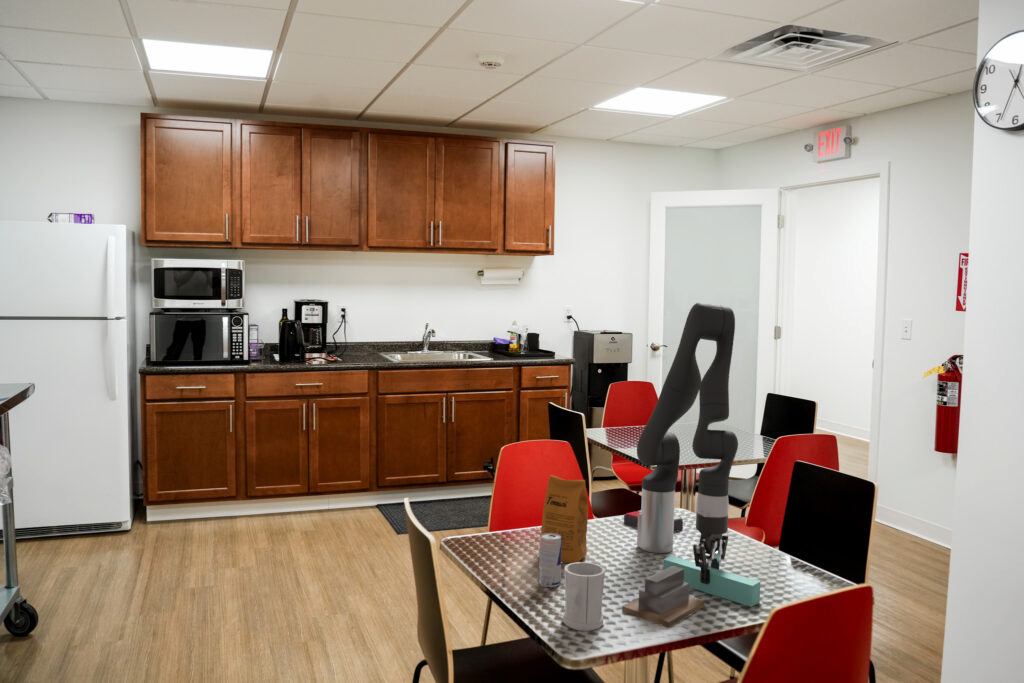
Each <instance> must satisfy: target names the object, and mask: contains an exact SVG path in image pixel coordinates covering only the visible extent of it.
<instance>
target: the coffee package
mask: <svg viewBox="0 0 1024 683" xmlns="http://www.w3.org/2000/svg"><path fill="white" fill-rule="evenodd" d="M586 485H587V482H586V479H563V478H560V477H558V476H555V475H553V474H551V475H550V476H549V478H548V483H547V486H546V494H545V496H544V497H545V498H544V502H543V503H544V504H543V507H542V508H543V509H542V519H541V529H540V530H541V531H540V536H541V535H542V534H546V533H554V534H558V535H560V536H561V539H562V550H561V562H564V563H563V564H570V563H575V562H581V560H582V559H583V558H585V557H587V556H586V555H587V551H588V550H587V549H588V548H587V547H588V546H587V544H588V543H587V532H588V523H589V522H588V521H589V518H588V517H589V514H588V513H589V502H588V495H587V491H586V490H587V489H586Z"/></svg>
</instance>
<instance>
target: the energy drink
mask: <svg viewBox="0 0 1024 683" xmlns="http://www.w3.org/2000/svg"><path fill="white" fill-rule="evenodd" d="M561 550H562V539H561V536H560V535H558V534H554V533H546V534H542V535H541V534H540V538H539V559H538V560H539V562H538V563H539V565H538V566H539V567H538V583H539V585H540V586H541V587H543V586H544V587H543V588H547V587H550V588H549V589H553V588H552V587H554V588H558V587H559V586H560V585H561V583H562V582H561V581H562V577H561V576H562V575H561V574H562V572H561V571H562V563H561ZM557 586H558V587H557Z"/></svg>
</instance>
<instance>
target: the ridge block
mask: <svg viewBox="0 0 1024 683" xmlns="http://www.w3.org/2000/svg"><path fill="white" fill-rule="evenodd" d="M705 604H706V602H705V601H704V600H701V599H698V598H696V597H692V596H690V587H689V583H687V582H684V569H683V568H679V567H676V566H671V567H669V568H667V569H665V570H663V569H662V570H661V571H660V570H659V571H658V572H657V573H654V574H652V575H650V576H648V577H645V579H644V587H642V588H640V589H638V598H636V599H633V600H632V601H630V602H627V603H626V604H624V605H622V606H621V607H622V608H621V609H622V610H621V611H622V612H623V613H626V614H629V615H632V616H634V617H638V618H641V619H643V620H646V621H648V622H649V621H650V622H653V623H654V624H655V623H656V624H658V625H660V626H664V627H667V628H670V627H672V626H673V625H675V624H677V623H678V622H681V621H682V620H684V619H686V618H687V617H689V616H691V615H693V614H695V613H696V612H698V611H699V610H701V609H703V608H704V607H705ZM692 613H693V614H692ZM690 614H691V615H690ZM680 620H681V621H680Z"/></svg>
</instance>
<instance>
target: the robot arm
mask: <svg viewBox="0 0 1024 683" xmlns="http://www.w3.org/2000/svg"><path fill="white" fill-rule="evenodd" d="M735 332H736V318H735V314H734V311H733V309H732V308H731V307H730V306H726V305H721V304H720V305H719V304H715V303H714V304H713V303H709V302H708V303H707V302H696V303H694V304H693V305H692V306H691V308H690V309H689V312H688V314H687V317H686V320H685V324H684V327H683V329H682V334H681V337H680V340H679V344H678V348H677V351H676V353H675V356H674V357H673V361H672V363H671V366H670V369H669V371H668V372H667V376H666V378H665V380H664V382H663V386H662V389H661V391H660V393H659V394H660V395H659V396H658V400H657V401H656V404H655V406H654V409H653V410H652V413H651V415H650V417H649V419H648V421H647V423H646V425H645V426H644V428H643V430H642V432H641V434H640V436H639V439H638V441H637V445H636V446H637V447H636V456H637V459H638V461H639V462H640V463H641V465H645V466H648V467H649V466H651V467H652V466H656V467H655V468H654V469H653V470H652V472H650V473H649V474H647V475H645V476H644V477H643V478H642V481H641V508H640V510H641V513H639V514H638V528H637V530H636V531H637V536H636V537H637V538H636V547H638V548H640V549H641V550H643V551H646V552H647V553H648V552H649V553H652V554H667V553H671V552H672V551H673V550H674V548H673V547H674V533H675V532H674V516H675V506H676V505H675V502H676V501H675V499H676V497H675V496H676V484H677V483H678V482H677V481H678V478H679V468H680V456H681V447H680V445H681V444H680V442H679V438H678V437H677V435H676V434H675V433H673V432H672V431H669V430H670V428H671V427H672V426H673V425H674V424H675V423H676V422H678V421H679V420H680V419H681V418H682V417H684V416H685V414H686V413H687V412H688V411H689V410H690V409H691V408H692V406H693V405H694V403H695V402H696V399H697V397H698V396H699V399H698V400H699V414H698V421H697V425H696V426H697V427H696V429H695V431H694V432H695V433H694V436H693V439H692V445H691V447H692V451H693V453H694V455H695V457H696V458H698V459H701V460H702V459H703V460H706V459H708V460H720V461H719V462H718V464H715V465H713V466H709V467H704V468H702V469H700V470H699V473H698V492H697V500H696V516H695V517H696V518H695V529H696V530H697V531H698V532H699V533H700V537H699V543H698V544H695V543H694V544H693V545H692V550H693V557H694V562H695V565H696V566H697V567H700V568H701V575H700V581H701V583H704V584H709V583H710V567H712V568H716V569H719V570H720V564H721V563H722V560H725V557H726V553H727V547H728V542H729V535H726V533H727V532H728V529H729V526H728V525H729V509H730V503H729V502H730V501H729V484H730V483H729V481H730V480H729V479H730V475H731V470H732V466H733V463H734V460H735V458H736V454H737V452H738V448H739V447H738V446H739V441H738V440H739V439H738V437H737V435H736V434H735V433H734V432H733V431H731V430H727V429H726V430H723V429H722V430H721V429H709V426H710V425H711V424H714V423H720V422H724V421H726V420H728V419H729V416H730V398H729V397H730V394H729V393H730V392H729V385H730V384H729V382H730V380H729V379H730V370H731V365H732V364H731V363H732V356H733V349H734V348H733V347H734V340H735ZM700 340H705V341H713V342H716V351H715V356H714V359H713V360H712V362H711V364H710V365H709V368H708V369H707V370H706V372H705V373H704V375H703V377H702V376H701V372H700V368H699V365H698V361H697V356H696V353H697V352H696V351H697V346H698V344H699V342H700ZM698 394H699V395H698ZM721 565H722V564H721Z"/></svg>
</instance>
